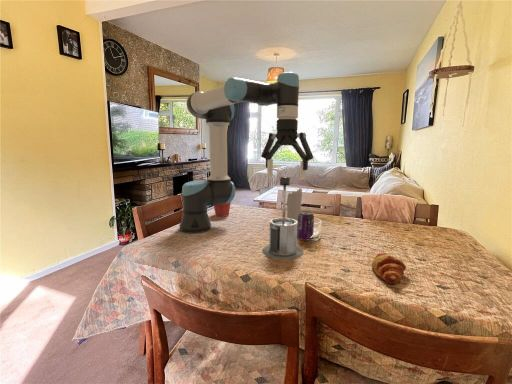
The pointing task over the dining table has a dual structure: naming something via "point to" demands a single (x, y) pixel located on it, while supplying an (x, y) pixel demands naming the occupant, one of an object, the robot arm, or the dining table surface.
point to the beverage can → (305, 225)
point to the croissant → (388, 267)
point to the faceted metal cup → (283, 238)
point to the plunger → (284, 199)
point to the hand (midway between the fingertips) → (285, 178)
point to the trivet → (267, 253)
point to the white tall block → (294, 204)
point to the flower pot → (222, 209)
